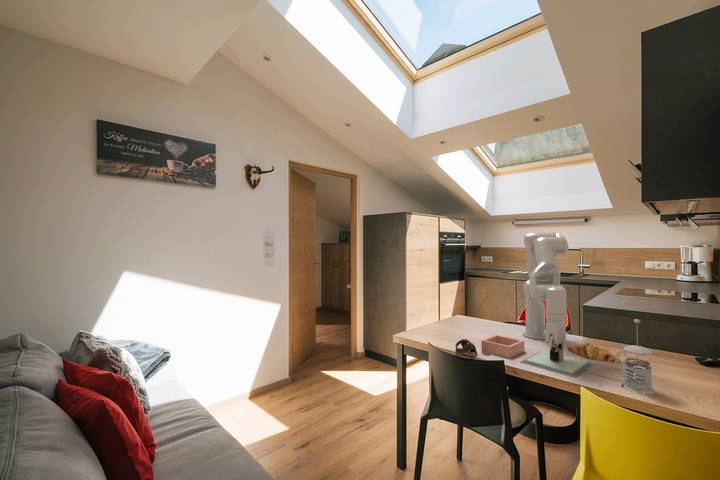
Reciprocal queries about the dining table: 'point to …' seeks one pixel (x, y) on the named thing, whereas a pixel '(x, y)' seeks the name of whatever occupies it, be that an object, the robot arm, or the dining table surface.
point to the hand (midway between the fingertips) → (556, 358)
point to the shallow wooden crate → (502, 346)
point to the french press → (637, 369)
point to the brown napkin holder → (465, 347)
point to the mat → (560, 371)
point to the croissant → (593, 352)
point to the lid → (557, 362)
